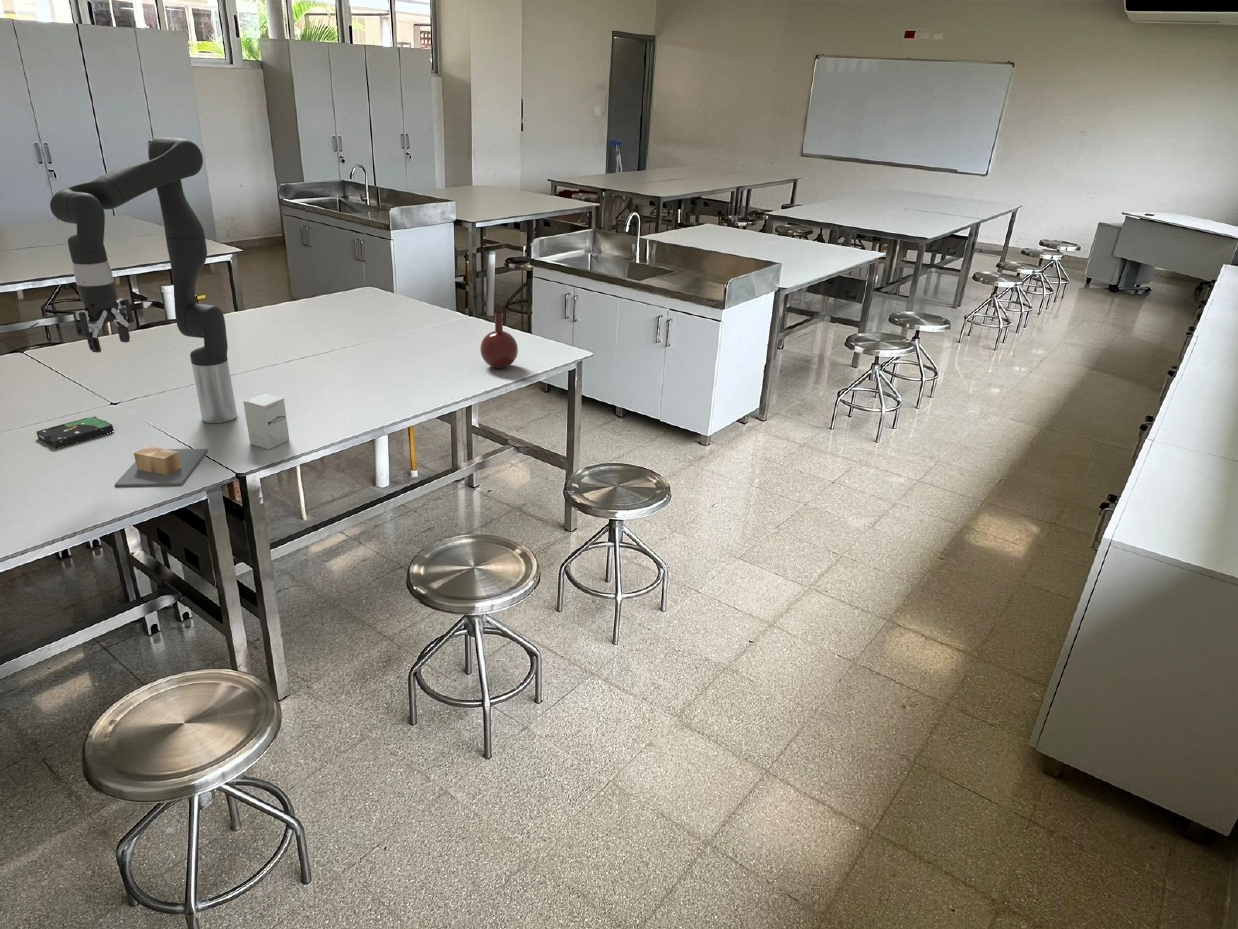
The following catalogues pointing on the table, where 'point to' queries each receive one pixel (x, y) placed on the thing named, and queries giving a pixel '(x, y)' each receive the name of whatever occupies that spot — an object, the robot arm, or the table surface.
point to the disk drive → (74, 432)
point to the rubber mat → (145, 478)
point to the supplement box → (266, 421)
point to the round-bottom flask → (499, 345)
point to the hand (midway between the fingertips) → (111, 346)
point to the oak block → (157, 460)
